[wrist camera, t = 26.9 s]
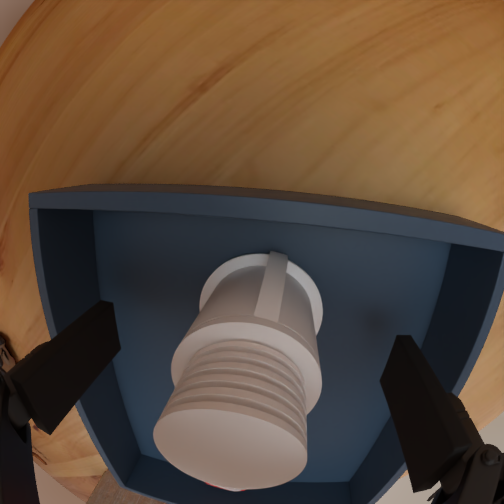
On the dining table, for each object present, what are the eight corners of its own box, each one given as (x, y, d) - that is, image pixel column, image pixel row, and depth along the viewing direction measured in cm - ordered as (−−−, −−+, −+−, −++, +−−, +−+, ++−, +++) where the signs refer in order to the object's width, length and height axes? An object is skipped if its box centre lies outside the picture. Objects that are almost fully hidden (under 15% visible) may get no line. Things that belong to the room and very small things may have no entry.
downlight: (296, 375, 17) (293, 513, 8) (192, 347, 18) (126, 469, 8) (341, 263, 15) (407, 389, 5) (216, 228, 15) (111, 313, 6)
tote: (91, 183, 16) (27, 193, 11) (458, 216, 14) (517, 237, 8) (139, 450, 24) (119, 486, 18) (353, 478, 21) (357, 520, 16)
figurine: (57, 418, 24) (-7, 319, 20) (26, 442, 20) (-46, 344, 15) (44, 397, 28) (-9, 308, 24) (16, 417, 24) (-42, 329, 19)
